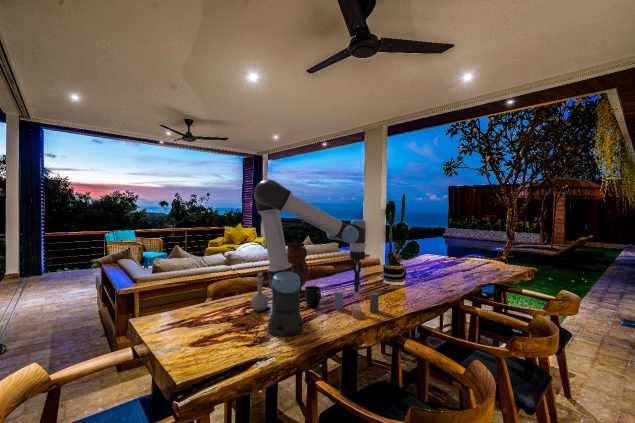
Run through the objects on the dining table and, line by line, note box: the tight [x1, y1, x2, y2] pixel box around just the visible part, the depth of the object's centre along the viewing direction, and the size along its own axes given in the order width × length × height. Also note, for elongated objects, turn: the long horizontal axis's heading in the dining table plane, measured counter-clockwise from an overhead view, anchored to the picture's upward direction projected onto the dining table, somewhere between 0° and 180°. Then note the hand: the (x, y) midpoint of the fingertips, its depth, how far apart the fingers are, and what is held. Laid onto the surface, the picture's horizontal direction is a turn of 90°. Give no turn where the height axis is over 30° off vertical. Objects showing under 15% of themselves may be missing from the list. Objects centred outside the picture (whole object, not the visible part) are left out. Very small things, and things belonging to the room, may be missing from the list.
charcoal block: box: [369, 291, 380, 314], centre depth 151 cm, size 4×4×9 cm
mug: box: [304, 285, 322, 308], centre depth 156 cm, size 8×12×10 cm
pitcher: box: [286, 242, 310, 294], centre depth 180 cm, size 17×21×30 cm
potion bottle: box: [250, 272, 269, 312], centre depth 152 cm, size 9×9×18 cm
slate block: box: [334, 289, 344, 311], centre depth 153 cm, size 4×4×9 cm
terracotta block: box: [351, 303, 362, 319], centre depth 146 cm, size 4×4×9 cm
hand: (356, 297), depth 148 cm, fingers closed
